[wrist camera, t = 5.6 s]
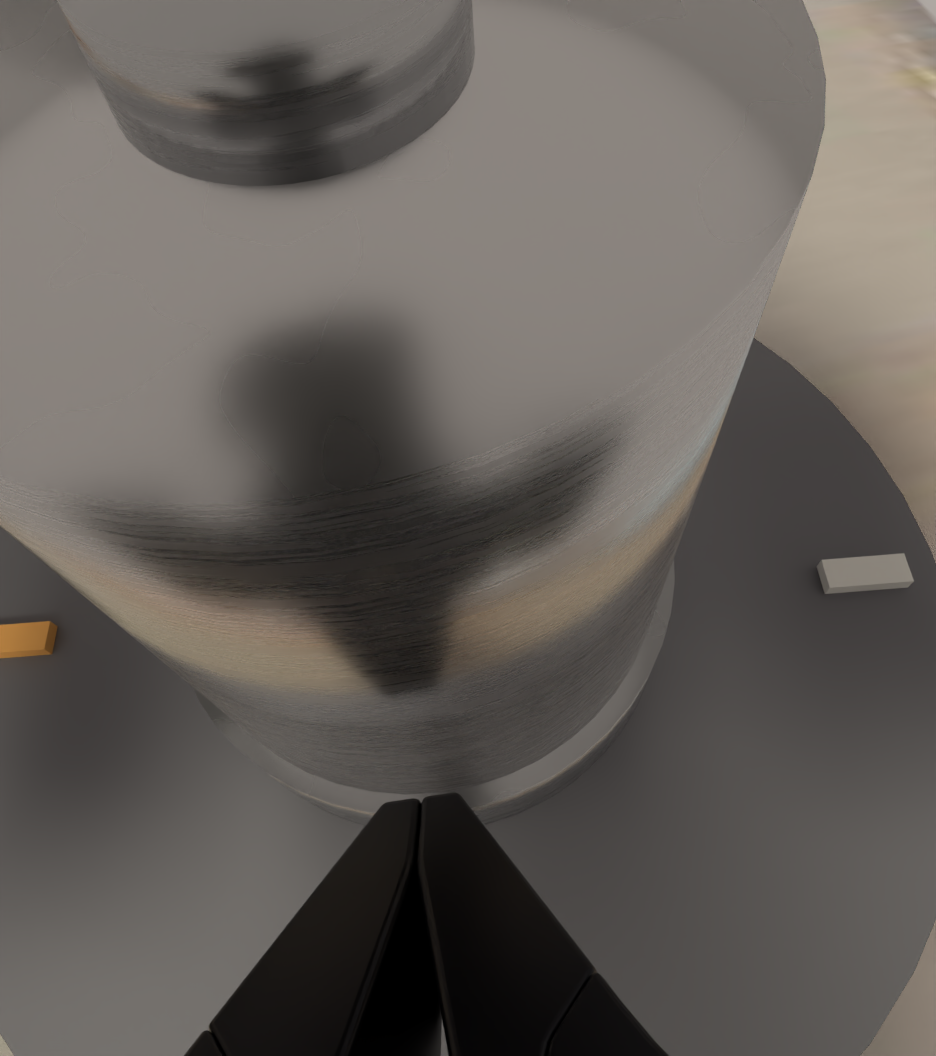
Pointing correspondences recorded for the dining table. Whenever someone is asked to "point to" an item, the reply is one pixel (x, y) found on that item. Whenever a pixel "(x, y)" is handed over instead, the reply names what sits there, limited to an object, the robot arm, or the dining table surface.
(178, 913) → the turntable
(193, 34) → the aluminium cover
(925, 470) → the dining table surface
